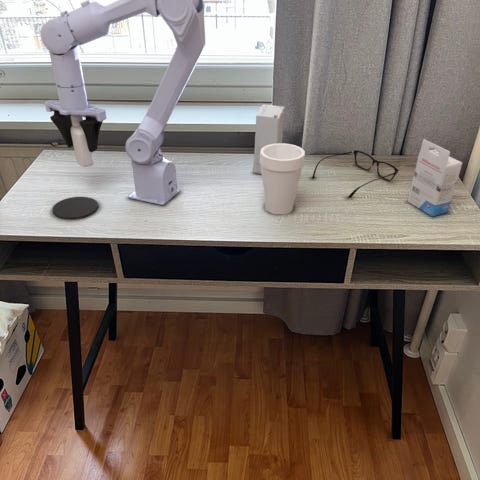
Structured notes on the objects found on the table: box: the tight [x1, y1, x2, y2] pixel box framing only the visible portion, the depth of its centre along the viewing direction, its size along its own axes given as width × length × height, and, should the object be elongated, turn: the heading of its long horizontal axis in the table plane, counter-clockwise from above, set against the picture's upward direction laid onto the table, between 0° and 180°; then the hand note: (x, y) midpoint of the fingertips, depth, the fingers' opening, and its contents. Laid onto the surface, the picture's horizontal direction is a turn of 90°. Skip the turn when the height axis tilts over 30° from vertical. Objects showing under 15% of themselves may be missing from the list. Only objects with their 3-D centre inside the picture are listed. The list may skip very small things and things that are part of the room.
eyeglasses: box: [311, 149, 400, 199], centre depth 124 cm, size 16×16×4 cm
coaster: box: [51, 196, 99, 220], centre depth 113 cm, size 10×10×1 cm
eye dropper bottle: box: [71, 114, 94, 168], centre depth 111 cm, size 4×6×12 cm
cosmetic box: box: [253, 103, 286, 175], centre depth 125 cm, size 8×6×15 cm
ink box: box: [407, 138, 463, 217], centre depth 110 cm, size 8×5×15 cm, turn 26°
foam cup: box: [260, 142, 306, 215], centre depth 109 cm, size 10×9×13 cm
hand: (82, 148), depth 113 cm, fingers closed on eye dropper bottle, 5 cm apart
